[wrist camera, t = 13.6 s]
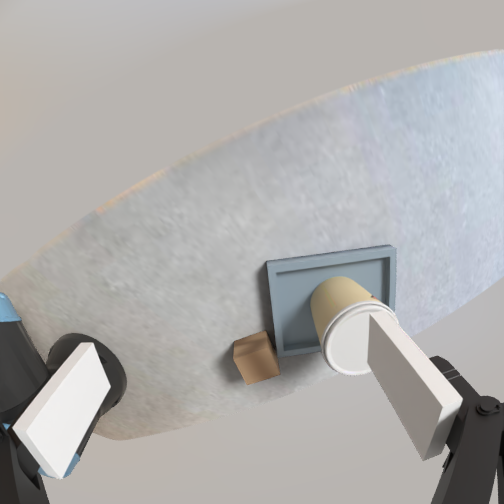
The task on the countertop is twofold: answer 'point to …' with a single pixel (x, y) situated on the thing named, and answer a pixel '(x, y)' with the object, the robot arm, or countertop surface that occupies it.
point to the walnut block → (256, 358)
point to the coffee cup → (344, 323)
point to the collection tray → (306, 281)
